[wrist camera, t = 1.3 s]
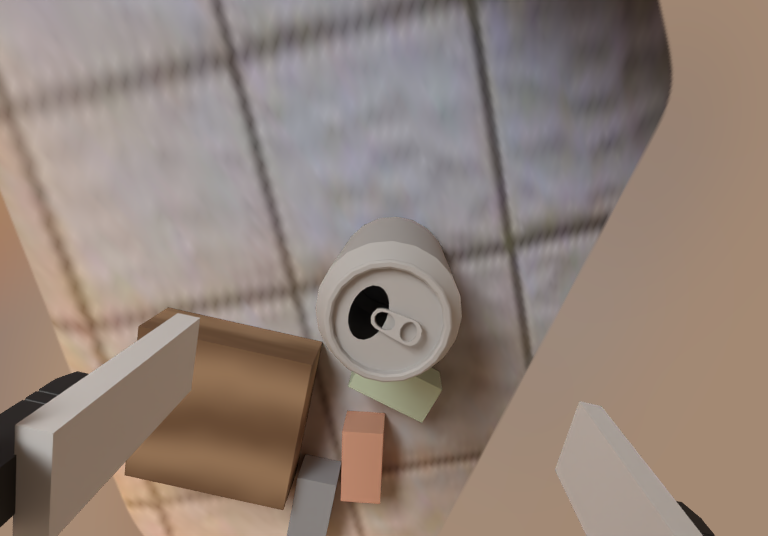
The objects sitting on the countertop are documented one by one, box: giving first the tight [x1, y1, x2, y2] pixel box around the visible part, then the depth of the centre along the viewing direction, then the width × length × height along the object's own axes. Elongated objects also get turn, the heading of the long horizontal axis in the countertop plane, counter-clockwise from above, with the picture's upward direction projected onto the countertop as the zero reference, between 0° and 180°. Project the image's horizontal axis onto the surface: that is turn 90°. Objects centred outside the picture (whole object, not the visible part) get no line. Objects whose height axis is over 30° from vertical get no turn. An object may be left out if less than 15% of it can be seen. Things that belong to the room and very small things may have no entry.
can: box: [315, 217, 462, 382], centre depth 28 cm, size 8×8×12 cm
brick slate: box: [287, 454, 341, 536], centre depth 37 cm, size 6×3×3 cm, turn 168°
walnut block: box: [125, 308, 322, 510], centre depth 34 cm, size 12×12×4 cm
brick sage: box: [348, 368, 442, 423], centre depth 34 cm, size 6×3×3 cm, turn 63°
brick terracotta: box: [341, 411, 385, 504], centre depth 36 cm, size 6×3×3 cm, turn 178°
